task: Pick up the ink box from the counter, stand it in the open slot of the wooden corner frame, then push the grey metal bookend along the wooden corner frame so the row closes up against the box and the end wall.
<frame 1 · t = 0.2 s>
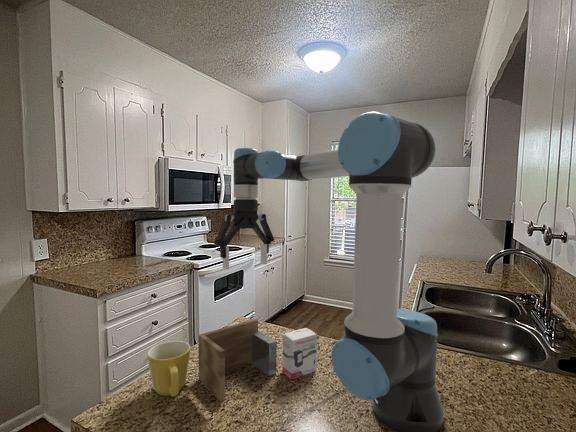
hand: (245, 266, 101), 27 cm above the table, fingers open, 13 cm apart
wooden corner frame: (240, 381, 85), on the table
mug: (169, 394, 79), on the table
ink box: (299, 375, 88), on the table
bookend: (264, 353, 89), point 6 cm above the table, slide at 0.0 cm
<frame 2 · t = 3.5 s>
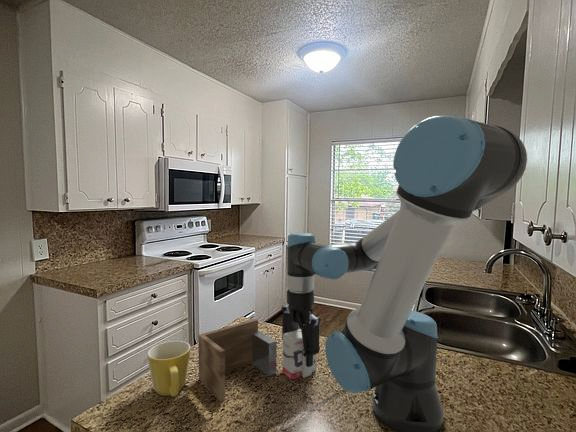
hand: (299, 371, 88), 1 cm above the table, fingers closed on ink box, 5 cm apart
ink box: (299, 375, 88), on the table, touching gripper
everything else where it was.
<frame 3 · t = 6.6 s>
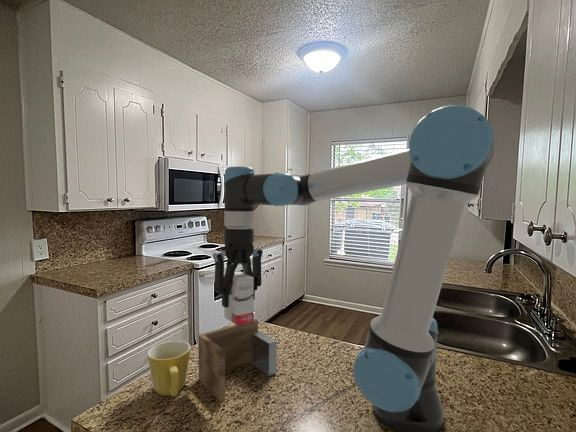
hand: (238, 316, 83), 18 cm above the table, fingers closed on ink box, 5 cm apart
ink box: (238, 319, 83), point 17 cm above the table, touching gripper
everything else where it was.
when the fingers open (4 cm above the table, at t = 9.6 s): ink box drops 2 cm, resting on wooden corner frame.
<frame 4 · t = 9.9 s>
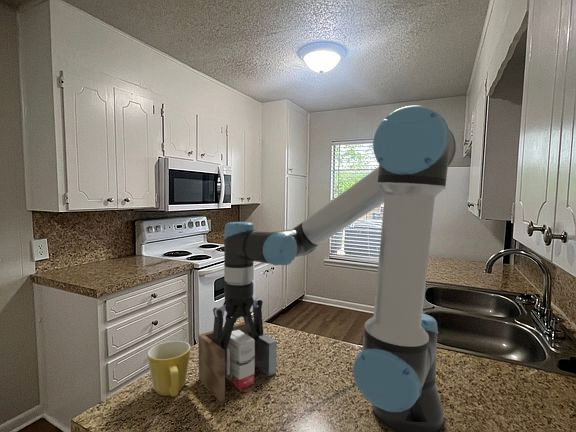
hand: (238, 367, 84), 4 cm above the table, fingers open, 7 cm apart
ink box: (238, 380, 84), point 1 cm above the table, touching wooden corner frame
everything else where it was.
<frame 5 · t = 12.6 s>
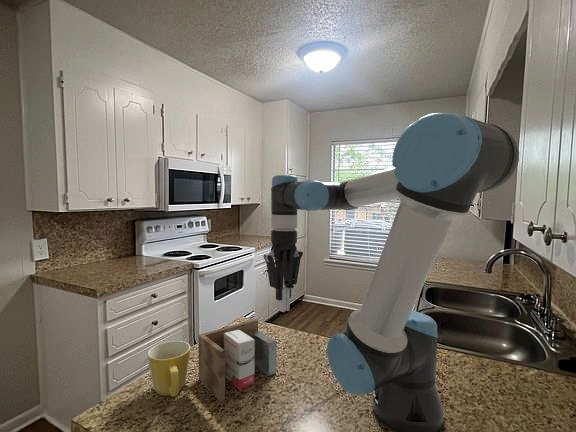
hand: (283, 309, 93), 16 cm above the table, fingers closed
nothing on the table moved.
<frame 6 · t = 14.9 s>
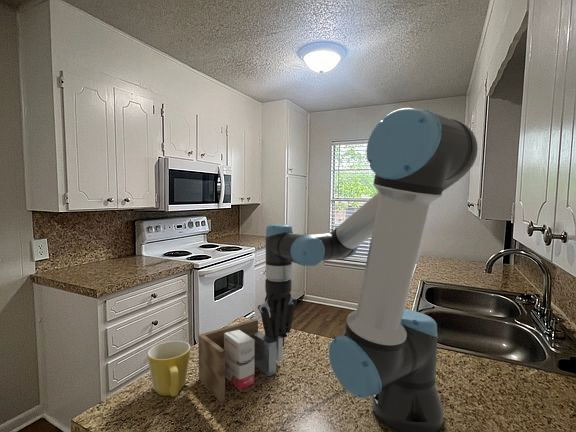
hand: (277, 358, 92), 2 cm above the table, fingers closed
bookend: (264, 353, 89), point 6 cm above the table, slide at 0.0 cm, touching gripper, hand
everything else where it was.
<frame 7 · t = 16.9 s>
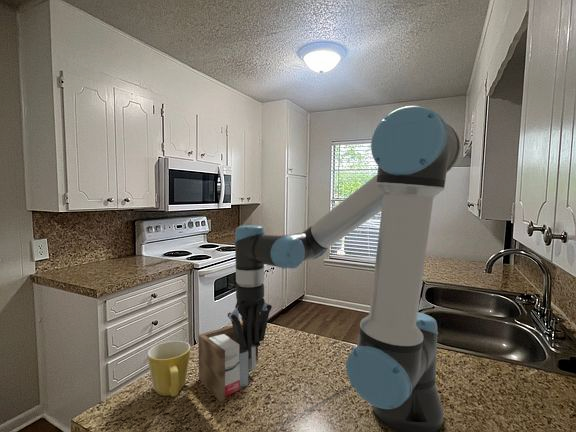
hand: (251, 368, 86), 3 cm above the table, fingers closed
ink box: (223, 386, 81), point 1 cm above the table, touching bookend, wooden corner frame
bookend: (235, 363, 83), point 6 cm above the table, slide at 9.0 cm, touching gripper, hand, ink box
everything else where it was.
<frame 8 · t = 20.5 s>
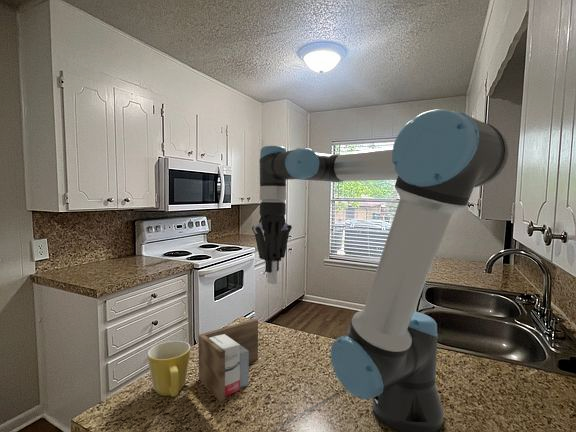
hand: (272, 282, 92), 24 cm above the table, fingers closed
ink box: (223, 386, 81), point 1 cm above the table, touching wooden corner frame
bookend: (236, 363, 83), point 6 cm above the table, slide at 8.9 cm
everything else where it was.
at the end: ink box inside the target area (1.0 cm from its centre), point 0.8 cm above the table; ink box tilted 0°; bookend slide at 8.9 cm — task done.
